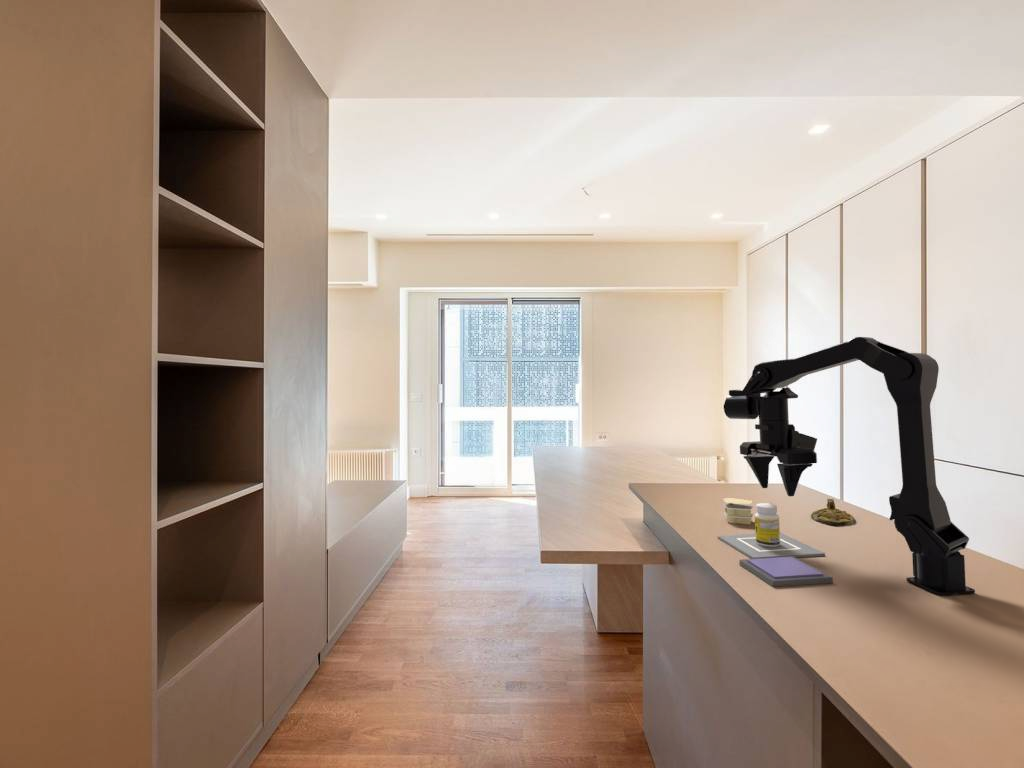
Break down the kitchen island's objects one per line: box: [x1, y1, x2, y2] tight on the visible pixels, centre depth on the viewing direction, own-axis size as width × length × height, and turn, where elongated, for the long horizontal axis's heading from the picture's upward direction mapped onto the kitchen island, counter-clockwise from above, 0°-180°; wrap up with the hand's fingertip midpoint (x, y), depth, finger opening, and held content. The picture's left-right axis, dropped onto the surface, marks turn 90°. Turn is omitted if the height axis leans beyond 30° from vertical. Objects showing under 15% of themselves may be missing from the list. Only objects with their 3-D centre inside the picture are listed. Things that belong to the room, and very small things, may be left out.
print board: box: [717, 532, 826, 559], centre depth 108 cm, size 15×15×1 cm
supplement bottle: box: [754, 502, 781, 547], centre depth 108 cm, size 5×5×8 cm
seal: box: [810, 498, 855, 526], centre depth 127 cm, size 9×5×15 cm
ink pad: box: [738, 556, 834, 588], centre depth 92 cm, size 11×11×1 cm
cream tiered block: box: [723, 497, 754, 525], centre depth 128 cm, size 10×9×6 cm
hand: (777, 491), depth 108 cm, fingers open, 9 cm apart
